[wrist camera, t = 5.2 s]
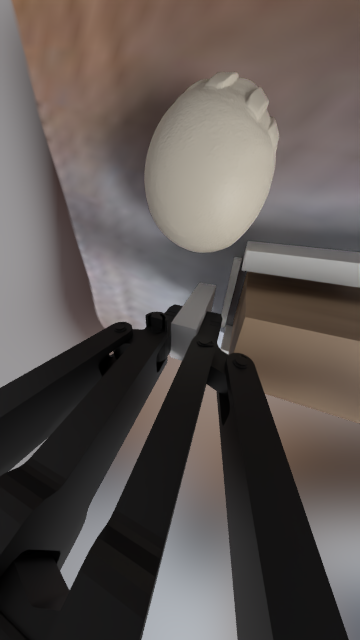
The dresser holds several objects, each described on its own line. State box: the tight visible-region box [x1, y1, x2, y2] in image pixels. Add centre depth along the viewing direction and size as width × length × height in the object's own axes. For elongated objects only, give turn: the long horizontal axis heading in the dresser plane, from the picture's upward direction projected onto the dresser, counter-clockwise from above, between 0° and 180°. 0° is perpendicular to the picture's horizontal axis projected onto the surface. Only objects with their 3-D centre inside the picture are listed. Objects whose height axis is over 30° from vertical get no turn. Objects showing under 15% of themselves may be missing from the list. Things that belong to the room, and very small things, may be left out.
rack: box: [221, 241, 360, 354], centre depth 12 cm, size 9×17×4 cm, turn 87°
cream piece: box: [144, 72, 279, 253], centre depth 9 cm, size 7×7×7 cm
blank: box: [228, 271, 360, 424], centre depth 11 cm, size 5×10×8 cm, turn 87°
